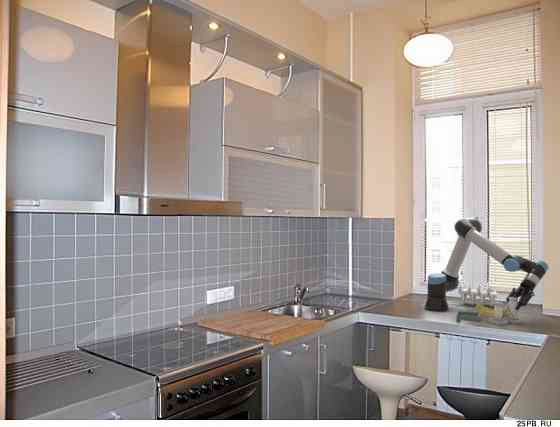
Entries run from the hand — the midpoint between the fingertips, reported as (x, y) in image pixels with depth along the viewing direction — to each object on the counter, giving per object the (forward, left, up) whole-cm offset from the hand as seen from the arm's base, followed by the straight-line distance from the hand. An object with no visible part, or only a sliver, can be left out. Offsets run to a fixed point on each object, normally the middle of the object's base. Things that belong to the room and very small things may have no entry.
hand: (508, 312), depth 262 cm
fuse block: (+1, -1, -7) cm, 7 cm away
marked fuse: (-3, +3, -4) cm, 5 cm away
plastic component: (-21, -8, -8) cm, 24 cm away
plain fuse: (+5, -5, -6) cm, 9 cm away
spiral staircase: (-56, -16, -7) cm, 59 cm away
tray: (-2, -21, -7) cm, 23 cm away
